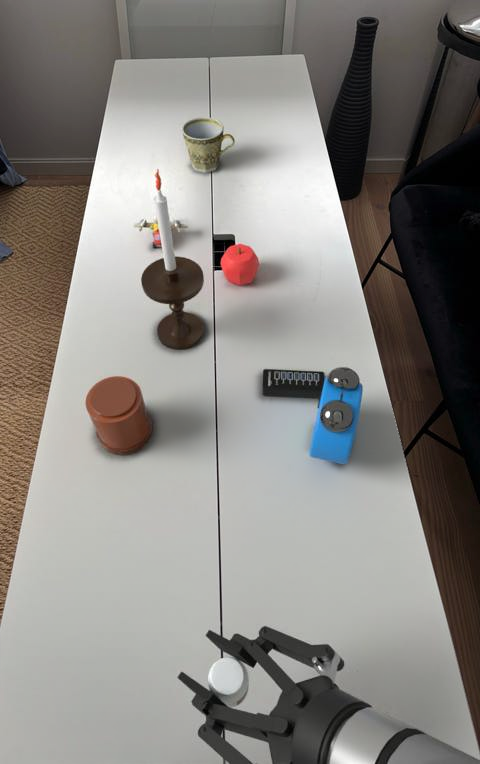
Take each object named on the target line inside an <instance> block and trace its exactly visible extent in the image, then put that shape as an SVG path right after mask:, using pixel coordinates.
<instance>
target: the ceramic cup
mask: <svg viewBox="0 0 480 764" xmlns="http://www.w3.org/2000/svg"><path fill="white" fill-rule="evenodd" d="M224 129H225V127H224V125H223V123H222V122H221V121H220V120H219V119H216V118H213V117H210V116H209V117H207V116H201V117H195V118H192V119H189V120H188V121H186V122H185V123H183V126H182V127H181V132H182V136H183V140H184V143H185V146H186V150H187V153H188V157H189V161H190V164H191V166H192V168H193V169H194V170H195V172H199V173H204V174H207V173H211V172H214V171H216V170H217V169H218V167H219V165H220V158H221V155H222V154H223V153H225V152H226V151H227V150H228V149H230V148H232V147H233V146H234V145H235V143H236V142H235V141H236V140H235V137H234V136H233V135H232V134H230V133H225V134H224ZM225 139H230V140H232V143H231V144H230V145H228V146H226V147H225V148H224V149H223V150H222V144H223V141H224V140H225Z"/></svg>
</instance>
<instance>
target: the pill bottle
mask: <svg viewBox="0 0 480 764" xmlns="http://www.w3.org/2000/svg"><path fill="white" fill-rule="evenodd" d="M249 678H250V677H249V672H248V669H247V667H246V665H245V663H243V662H241V661H240V660H238V659H236V658H234V657H233V656H224V657H222V658H219V659H218V660H216V661H215V662H214V663H213V664H212V666H211V668H210V669H209V672H208V675H207V685H208V690H209V691H211V692H212V693H214V694H215V695H216V696H217V697H218V698H219V699H220V700H221V701H222V702H224V703H225V704H226V705H227V706H228V707H230V708H236V707H237V706H239V705H241V704H242V703H243V702H244V701H245V699H246V698H247V695H248V692H249V686H250V685H249V684H250V679H249Z"/></svg>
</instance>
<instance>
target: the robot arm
mask: <svg viewBox="0 0 480 764" xmlns="http://www.w3.org/2000/svg"><path fill="white" fill-rule="evenodd" d="M205 637H206V638H207V639H208V640H209V641H210V642H211V643H212V644H213V645H215V647H217V648H218V649H219V650H220V651H222V652H224V653H225V654H228V655H229V656H230V657H233V658H236V659H238V660H240V661H241V662H242V663H243V664H244V665H247V666H248V667H250V668H252V669H255V667H256V665H257V664H258V665H259V666H260V667H261V669H263V671H264V672H265V673H266V674H267V675H268V676H269V677H270V679H272V681H274V684H276V686H278V688H279V689H280V690H281V693H280V694H279V697H278V699H277V702H276V705H275V706H274V707H273V709H272V710H270V712H269V714H264V713H261V712H257V713H253V712H248V711H246V710H245V711H244V710H241V709H238V708H234V707H232V708H230V707H228V706H227V705H226V704H225V703H224V702H222V701H221V700H220V699H219V698H218V697H217V696H216V695H215V694H214V693H212V692H211V691H210V689H209V688H206V687H205V686H204V685H203V684H200V683H199V682H198V681H196V680H195V679H193V678H192V677H190V676H189V675H188V674H186V673H185V672H183V671H180V673H179V674H178V675H177V679H178V680H179V681H180V682H181V683H182V684H184V685H185V686H186V687H187V688H188V689H189V690H191V692H192V693H194V694H195V695H194V696H193V698H192V700H191V705H192V706H193V707H194V708H195V709H196V710H198V711H199V712H200V713H201V714H202V715H204V716H205V722H204V723H202V725H200V726H199V728H198V730H197V736H198V737H199V739H201V740H202V741H203V742H205V743H206V745H208V746H209V748H210V749H212V750H213V751H214V752H216V754H217V755H219V756H220V757H221V758H222V759H223V760H224V761H226V762H227V763H228V764H254V763H253V762H252V761H251V760H250V759H248V757H246V756H245V755H244V754H243V753H242V752H240V751H239V750H238V749H237V748H236V747H234V746H233V745H232V744H231V743H230V742H228V741H227V740H226V739H225V738H224V737H223V736H222V735H223V731H224V730H225V731H227V732H228V731H229V732H231V733H235V734H237V735H241V736H244V737H247V738H252V739H255V740H259V741H262V742H265V743H267V744H268V748H269V753H270V760H271V763H272V764H480V759H478V758H477V757H475V756H472V755H471V754H469V753H467V752H464V751H462V750H461V749H459V748H457V747H454V746H453V745H450V744H448V743H447V742H445V741H442V740H440V739H438V738H436V737H434V736H432V735H430V734H428V733H426V732H424V731H423V730H421V729H418V728H417V727H415V726H413V725H411V724H410V723H407V722H405V721H403V720H401V719H400V718H397V717H395V716H393V715H391V714H390V713H388V712H386V711H384V710H382V709H380V708H377V707H374V706H372V705H371V704H369V703H368V702H365V701H364V700H362V699H360V698H358V697H356V696H354V695H351V694H349V693H348V692H346V691H344V690H341V689H340V687H339V686H338V685H337V683H336V677H337V672H341V671H342V670H344V668H345V660H344V659H343V658H342V657H341V656H340V655H339V654H338V652H336V650H334V649H333V647H332V646H331V645H330V644H328V643H323V644H322V643H321V644H311V643H308V642H306V641H303V640H301V639H299V638H296V637H294V636H291V635H289V634H286V633H285V632H282V631H279V630H277V629H274V628H272V627H270V626H268V625H263V626H262V627H261V628H260V629H259V630H258V636H257V637H256V638H255V639H250V638H248V637H246V636H244V635H242V634H240V633H234V634H233V635H232V636H231V638H230V639H228V638H226V637H224V636H222V635H220V634H219V633H216V632H214V631H212V630H211V629H208V631H207V632H206V634H205ZM272 650H273V651H274V652H277V653H279V654H282V655H283V656H286V657H287V658H291V659H293V660H294V661H297V662H298V663H301V664H303V665H305V666H308V667H310V668H312V669H314V670H315V671H316V672H317V673H318V675H317V676H314V677H311V678H308V679H305V680H301V681H298V682H295V681H294V680H293V678H292V677H290V676H289V674H288V673H286V672H285V671H284V670H283V668H282V667H280V665H279V664H278V663H277V662H276V661H275V660H274V659H273V658H272V656H270V655H269V653H271V651H272ZM255 764H258V763H255Z"/></svg>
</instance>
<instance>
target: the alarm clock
mask: <svg viewBox="0 0 480 764" xmlns="http://www.w3.org/2000/svg"><path fill="white" fill-rule="evenodd" d="M363 387H364V386H363V384H362V383H361V380H360V376H359V375H358V373H357V371H356V370H354V369H352V368H349V367H347V366H338V367H335V368H333V369H331V370H330V371H329V373H328V375H327V376H326V377H325V381H324V386H323V390H322V391H321V395H320V398H319V399H318V402H317V409H318V410H317V414H316V419H315V425H314V428H313V434H312V439H311V443H310V448H309V449H310V450H309V457H310V458H313V459H318V460H323V461H327V462H331V463H337V464H340V465H346V464H347V463H348V461H349V459H350V455H351V452H352V449H353V444H354V440H355V436H356V432H357V428H358V427H357V426H358V421H359V416H360V412H361V404H362V399H363V392H364V389H363Z"/></svg>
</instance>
